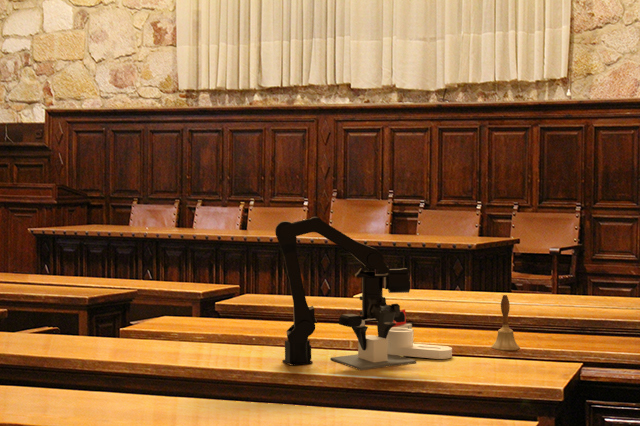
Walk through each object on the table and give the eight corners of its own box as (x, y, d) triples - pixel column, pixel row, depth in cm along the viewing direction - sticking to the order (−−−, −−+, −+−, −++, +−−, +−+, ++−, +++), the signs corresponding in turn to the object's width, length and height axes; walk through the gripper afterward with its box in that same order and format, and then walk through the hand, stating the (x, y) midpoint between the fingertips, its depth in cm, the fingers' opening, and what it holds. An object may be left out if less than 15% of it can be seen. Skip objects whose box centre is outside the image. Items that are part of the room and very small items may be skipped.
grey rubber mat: (360, 370, 215) (360, 367, 215) (330, 359, 229) (330, 357, 229) (416, 362, 224) (416, 360, 224) (383, 353, 238) (383, 351, 238)
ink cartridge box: (412, 339, 260) (411, 309, 260) (395, 345, 251) (395, 313, 251) (405, 339, 262) (405, 308, 262) (388, 344, 252) (388, 313, 252)
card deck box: (358, 357, 229) (358, 336, 229) (371, 355, 231) (371, 334, 231) (373, 362, 222) (373, 340, 222) (387, 360, 224) (387, 339, 224)
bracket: (379, 353, 233) (379, 330, 233) (387, 349, 241) (387, 326, 241) (448, 359, 227) (449, 335, 227) (454, 354, 235) (454, 331, 235)
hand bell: (520, 350, 240) (520, 297, 240) (491, 350, 242) (491, 296, 241) (519, 345, 248) (519, 293, 248) (491, 344, 250) (491, 293, 249)
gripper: (359, 298, 214) (359, 357, 215) (416, 294, 224) (417, 350, 224) (337, 294, 224) (338, 350, 224) (393, 290, 233) (394, 344, 234)
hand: (372, 349), depth 226 cm, fingers open, 5 cm apart
